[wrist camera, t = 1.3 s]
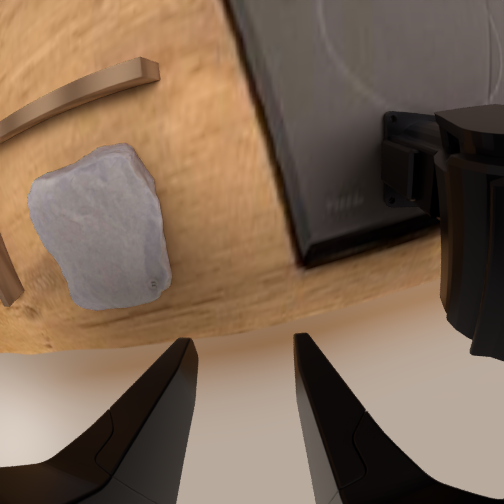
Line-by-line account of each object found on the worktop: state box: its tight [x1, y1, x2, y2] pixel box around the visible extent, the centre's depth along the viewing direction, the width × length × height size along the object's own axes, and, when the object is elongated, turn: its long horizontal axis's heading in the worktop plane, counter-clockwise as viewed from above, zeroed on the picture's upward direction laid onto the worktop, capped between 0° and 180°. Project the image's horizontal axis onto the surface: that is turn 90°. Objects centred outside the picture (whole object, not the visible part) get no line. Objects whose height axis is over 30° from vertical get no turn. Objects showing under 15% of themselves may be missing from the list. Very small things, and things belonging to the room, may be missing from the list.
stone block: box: [27, 143, 172, 311], centre depth 19 cm, size 12×5×10 cm
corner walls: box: [0, 57, 160, 307], centre depth 18 cm, size 22×16×3 cm
